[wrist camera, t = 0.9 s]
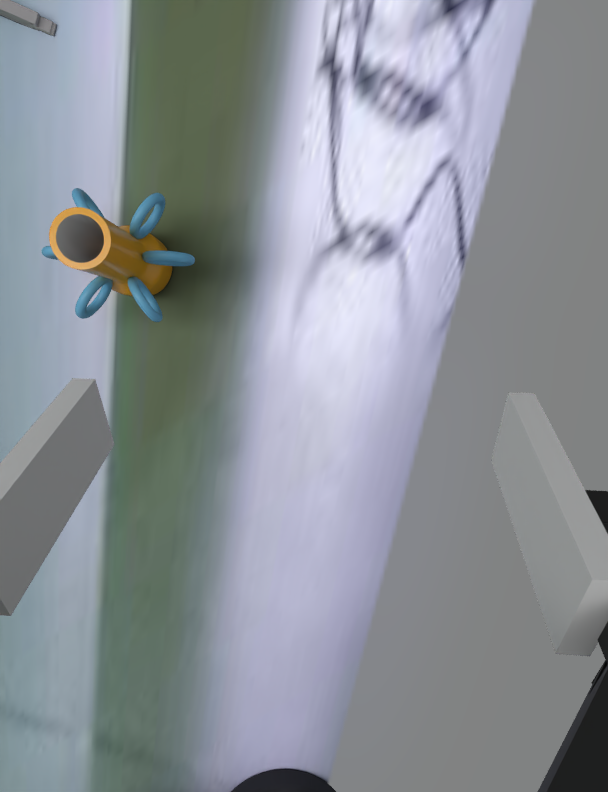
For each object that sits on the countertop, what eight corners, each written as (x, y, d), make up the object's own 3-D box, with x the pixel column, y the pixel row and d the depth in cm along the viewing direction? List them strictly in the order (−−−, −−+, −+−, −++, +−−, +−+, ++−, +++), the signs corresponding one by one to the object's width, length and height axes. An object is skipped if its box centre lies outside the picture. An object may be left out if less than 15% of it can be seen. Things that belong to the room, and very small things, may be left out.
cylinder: (77, 319, 49) (-12, 315, 34) (74, 206, 47) (-19, 151, 33) (205, 324, 49) (172, 322, 35) (206, 213, 48) (173, 161, 33)
